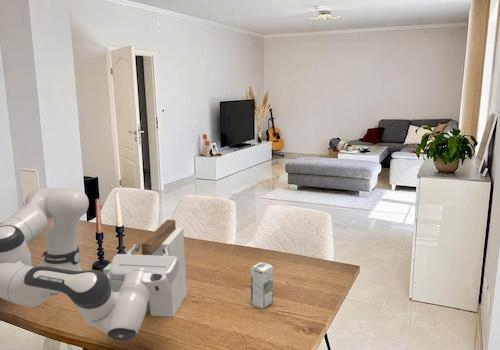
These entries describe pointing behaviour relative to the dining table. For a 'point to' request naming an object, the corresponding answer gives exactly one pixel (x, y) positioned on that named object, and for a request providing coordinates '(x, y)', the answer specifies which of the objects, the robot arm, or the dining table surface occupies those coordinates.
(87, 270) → the robot arm
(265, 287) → the syrup box
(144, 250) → the walnut bar
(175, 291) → the white stand
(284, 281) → the dining table surface
